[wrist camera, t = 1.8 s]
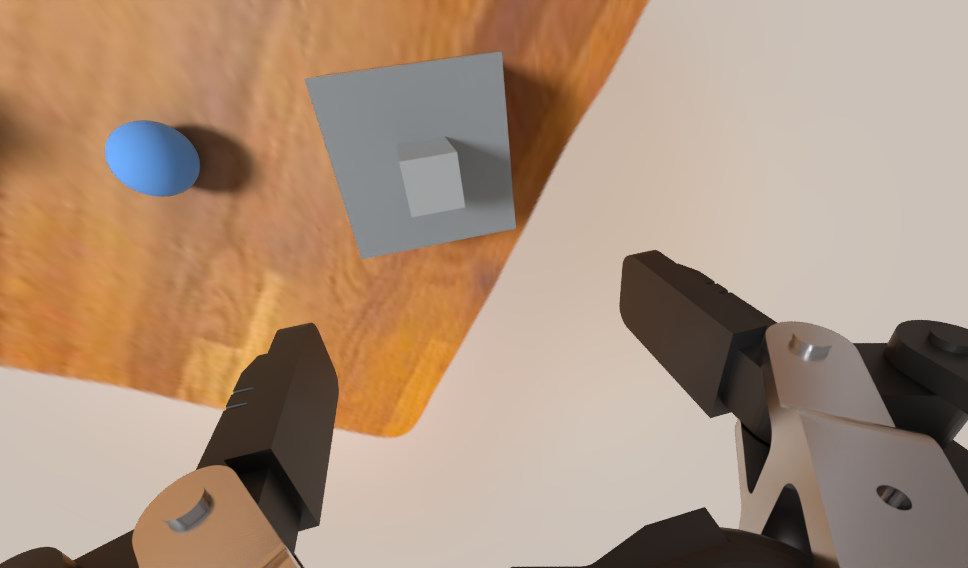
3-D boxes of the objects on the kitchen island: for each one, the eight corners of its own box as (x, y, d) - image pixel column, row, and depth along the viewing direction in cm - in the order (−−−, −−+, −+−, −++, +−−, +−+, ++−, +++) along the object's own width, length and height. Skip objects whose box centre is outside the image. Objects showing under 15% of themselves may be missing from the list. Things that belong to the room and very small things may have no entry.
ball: (115, 122, 27) (66, 133, 23) (191, 111, 28) (156, 120, 24) (154, 191, 30) (116, 212, 26) (223, 179, 31) (196, 198, 26)
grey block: (325, 74, 29) (284, 83, 17) (472, 54, 30) (528, 48, 18) (367, 216, 34) (357, 296, 23) (488, 193, 36) (538, 257, 24)
